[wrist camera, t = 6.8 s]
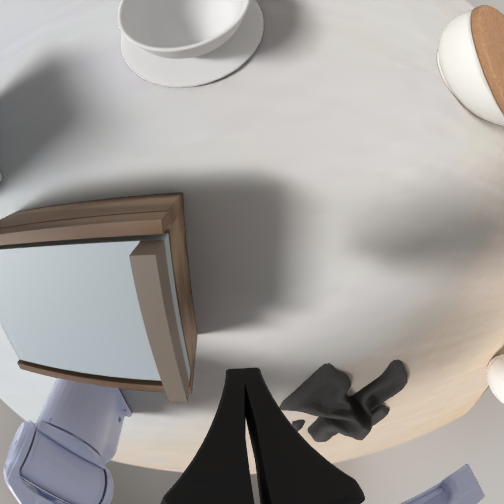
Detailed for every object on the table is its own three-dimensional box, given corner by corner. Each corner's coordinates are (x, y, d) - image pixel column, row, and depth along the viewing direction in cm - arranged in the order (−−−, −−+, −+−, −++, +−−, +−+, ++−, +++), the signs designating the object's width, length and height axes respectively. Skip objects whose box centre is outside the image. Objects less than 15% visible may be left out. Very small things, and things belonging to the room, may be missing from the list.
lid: (190, 370, 17) (187, 402, 14) (23, 352, 16) (10, 372, 13) (168, 232, 13) (155, 254, 11) (-18, 246, 12) (-41, 262, 9)
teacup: (247, 98, 16) (254, 83, 12) (108, 86, 14) (77, 74, 10) (274, -11, 12) (287, -43, 8) (145, -20, 11) (130, -50, 6)
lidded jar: (473, 36, 13) (535, 28, 4) (492, 127, 17) (559, 140, 8) (404, 11, 13) (473, -21, 4) (430, 120, 17) (518, 127, 8)
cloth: (277, 365, 26) (288, 414, 20) (424, 335, 27) (450, 367, 21) (272, 452, 34) (277, 484, 28) (376, 429, 36) (388, 455, 30)
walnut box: (197, 334, 22) (192, 393, 16) (49, 327, 21) (21, 369, 15) (182, 192, 18) (161, 218, 12) (14, 212, 16) (-34, 238, 10)
